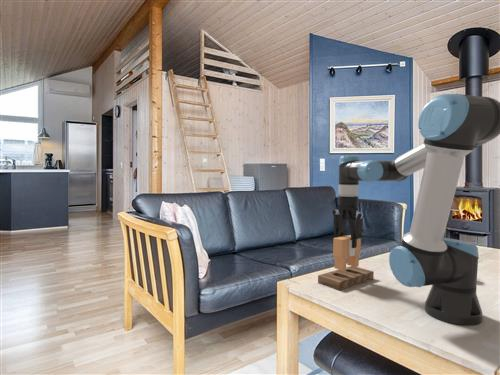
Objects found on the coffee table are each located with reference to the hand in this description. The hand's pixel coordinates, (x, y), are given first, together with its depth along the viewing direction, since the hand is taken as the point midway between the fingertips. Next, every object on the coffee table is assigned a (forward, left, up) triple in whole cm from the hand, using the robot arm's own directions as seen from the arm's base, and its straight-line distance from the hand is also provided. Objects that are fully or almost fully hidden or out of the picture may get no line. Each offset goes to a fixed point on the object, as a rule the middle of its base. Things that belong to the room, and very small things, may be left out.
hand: (346, 254), depth 135 cm
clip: (0, 0, -5) cm, 5 cm away
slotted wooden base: (0, 0, -11) cm, 11 cm away
